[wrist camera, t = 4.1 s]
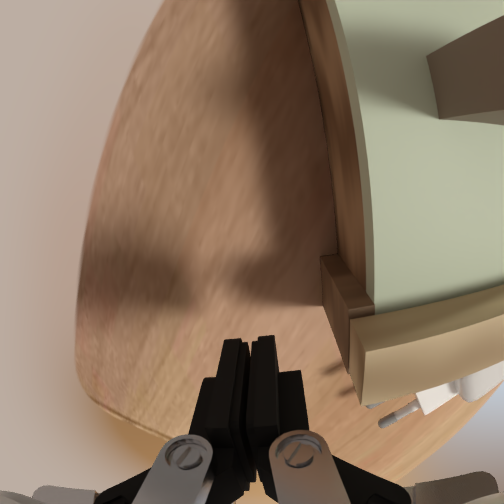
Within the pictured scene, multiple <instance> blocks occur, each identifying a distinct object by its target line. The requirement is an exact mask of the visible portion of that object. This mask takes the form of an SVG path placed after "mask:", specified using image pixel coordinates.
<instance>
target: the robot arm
mask: <svg viewBox="0 0 504 504" xmlns="http://www.w3.org/2000/svg"><path fill="white" fill-rule="evenodd" d="M257 471H258V475H259V478H260V481H261V482H262V483H263V486H264V490H265V493H266V495H268V496H269V497H270V498H272V499H273V500H275V501H276V502H278V503H279V504H504V492H500V493H499V491H498V486H497V482H496V480H495V478H494V477H493V476H492V475H491V474H490V473H486V472H483V471H481V472H473V473H469V474H465V475H460V476H456V477H451V478H446V479H441V480H435V481H429V482H422V483H416V484H415V485H414V486H412V487H401V486H399V485H398V484H395V483H393V482H390V481H388V480H385V479H383V478H380V477H378V476H376V475H374V474H371V473H369V472H367V471H365V470H362V469H360V468H358V467H356V466H354V465H352V464H349V463H347V462H345V461H343V460H341V459H339V458H337V457H335V456H333V455H331V452H330V450H329V447H328V445H327V443H326V441H325V440H324V438H323V437H321V436H320V435H319V434H317V433H315V432H312V431H309V424H308V417H307V409H306V402H305V395H304V388H303V381H302V374H301V370H296V371H287V372H279V367H278V359H277V351H276V344H275V336H274V335H269V336H259V337H258V341H252V348H251V356H250V351H249V346H248V342H242V340H241V338H238V339H226V340H224V343H223V348H222V352H221V357H220V361H219V366H218V370H217V375H216V377H209V378H204V379H203V382H202V385H201V389H200V393H199V396H198V400H197V404H196V407H195V411H194V415H193V419H192V422H191V426H190V430H189V434H188V435H181V436H177V437H175V438H173V439H171V440H170V441H168V442H167V443H166V444H165V445H164V446H163V448H162V449H161V450H160V452H159V454H158V456H157V458H156V460H155V462H154V464H153V466H152V467H151V468H150V469H148V470H146V471H144V472H142V473H140V474H138V475H136V476H134V477H132V478H130V479H128V480H126V481H124V482H122V483H120V484H118V485H115V486H113V487H111V488H109V489H107V490H105V491H103V492H102V493H97V492H96V491H94V490H83V489H72V488H64V487H56V486H42V487H40V488H38V489H37V490H36V491H35V492H34V494H33V496H32V498H31V497H28V496H25V495H22V494H18V493H14V492H7V491H0V504H236V500H237V499H239V498H240V497H241V496H243V495H244V491H249V488H250V482H256V472H257Z"/></svg>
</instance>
